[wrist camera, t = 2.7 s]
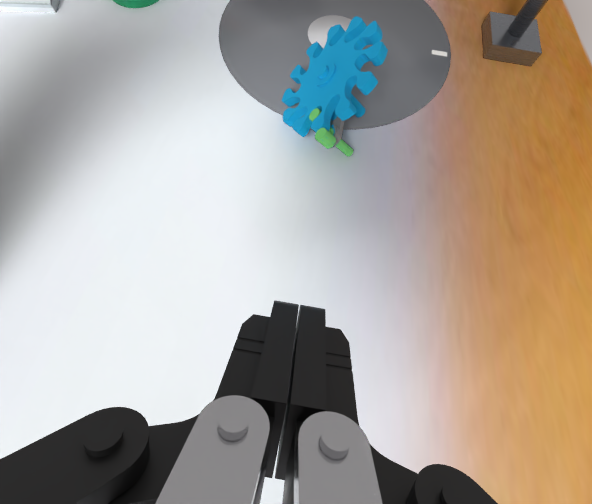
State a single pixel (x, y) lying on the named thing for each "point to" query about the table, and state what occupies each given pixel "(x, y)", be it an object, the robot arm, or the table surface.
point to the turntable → (314, 27)
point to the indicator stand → (513, 35)
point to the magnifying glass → (135, 3)
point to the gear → (334, 82)
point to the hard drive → (29, 6)
